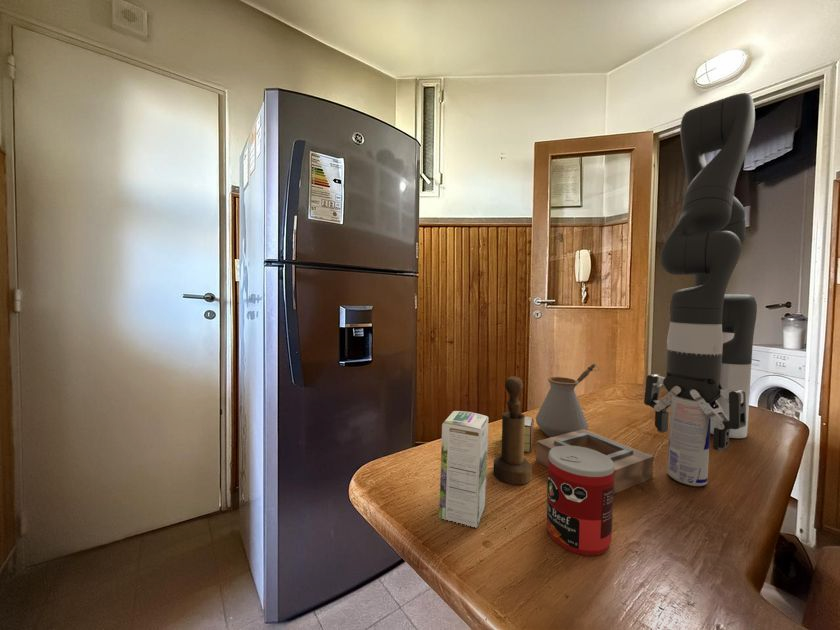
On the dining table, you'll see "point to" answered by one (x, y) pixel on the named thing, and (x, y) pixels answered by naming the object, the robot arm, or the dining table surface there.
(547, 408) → the coffee pot
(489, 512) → the dining table surface
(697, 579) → the dining table surface
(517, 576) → the dining table surface
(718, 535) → the dining table surface
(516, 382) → the mortar and pestle
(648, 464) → the block
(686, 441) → the beverage can
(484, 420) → the syrup box
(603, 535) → the canned food
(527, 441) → the puzzle toy
